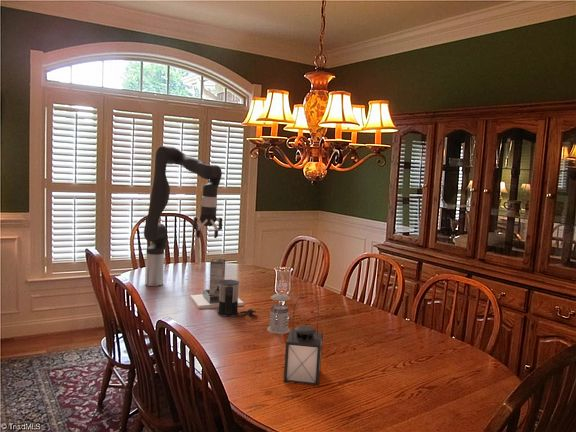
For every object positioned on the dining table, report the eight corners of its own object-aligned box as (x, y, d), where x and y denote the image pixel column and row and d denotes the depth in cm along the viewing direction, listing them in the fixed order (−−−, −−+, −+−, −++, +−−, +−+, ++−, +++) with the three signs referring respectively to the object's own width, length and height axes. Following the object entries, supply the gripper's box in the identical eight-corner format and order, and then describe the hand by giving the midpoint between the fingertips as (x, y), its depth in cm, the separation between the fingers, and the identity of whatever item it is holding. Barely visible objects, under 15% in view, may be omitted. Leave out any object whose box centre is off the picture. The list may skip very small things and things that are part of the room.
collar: (209, 303, 221) (209, 297, 221) (202, 295, 234) (202, 289, 233) (230, 302, 226) (231, 295, 225) (223, 294, 238) (223, 288, 238)
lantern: (283, 382, 148) (288, 296, 145) (287, 367, 159) (292, 287, 156) (318, 386, 147) (324, 299, 144) (320, 371, 158) (326, 290, 155)
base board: (198, 308, 217) (198, 305, 217) (190, 298, 233) (190, 295, 233) (243, 305, 226) (243, 302, 226) (232, 295, 242) (232, 292, 242)
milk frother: (215, 311, 215) (216, 279, 214) (247, 308, 222) (248, 277, 221) (224, 321, 202) (226, 287, 201) (258, 317, 209) (260, 285, 208)
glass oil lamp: (293, 327, 199) (296, 269, 196) (285, 336, 188) (289, 275, 185) (271, 324, 202) (274, 267, 199) (262, 333, 190) (265, 272, 188)
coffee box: (211, 290, 234) (212, 258, 232) (224, 290, 234) (225, 258, 232) (208, 295, 225) (210, 262, 223) (222, 295, 225) (223, 262, 223)
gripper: (221, 205, 238) (218, 236, 240) (193, 204, 232) (191, 236, 234) (225, 207, 231) (222, 239, 233) (196, 205, 225) (194, 239, 227)
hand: (206, 237), depth 233 cm, fingers open, 8 cm apart
